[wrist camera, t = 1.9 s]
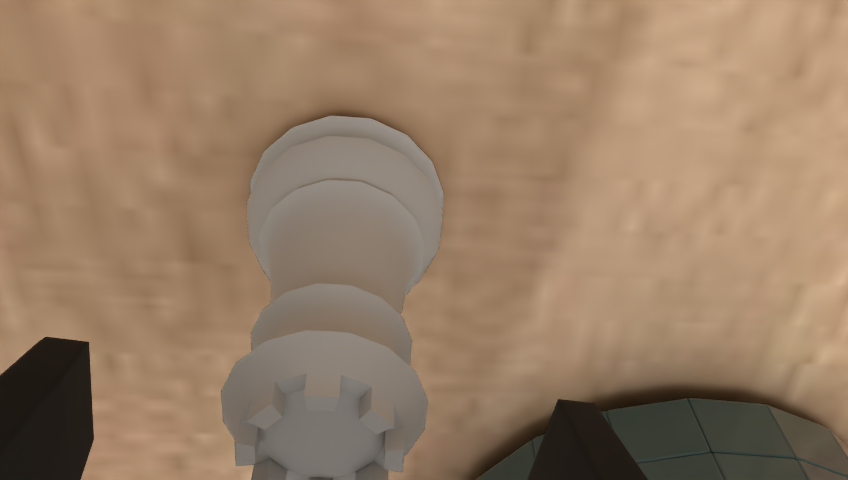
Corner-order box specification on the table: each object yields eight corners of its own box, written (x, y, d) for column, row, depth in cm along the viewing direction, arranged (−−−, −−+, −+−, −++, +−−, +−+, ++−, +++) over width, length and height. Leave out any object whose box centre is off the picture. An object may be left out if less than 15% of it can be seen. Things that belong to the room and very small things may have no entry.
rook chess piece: (467, 134, 18) (512, 377, 11) (413, 289, 20) (422, 570, 13) (270, 82, 17) (185, 310, 10) (237, 251, 19) (150, 529, 12)
